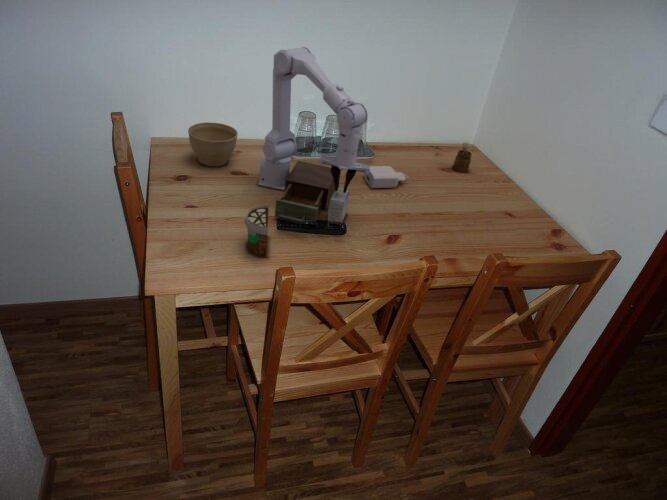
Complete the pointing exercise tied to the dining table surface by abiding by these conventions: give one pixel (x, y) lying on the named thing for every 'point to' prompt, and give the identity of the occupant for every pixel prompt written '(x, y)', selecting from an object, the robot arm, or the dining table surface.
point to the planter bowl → (212, 142)
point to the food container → (257, 229)
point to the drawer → (299, 203)
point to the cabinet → (313, 179)
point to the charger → (383, 177)
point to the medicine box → (338, 205)
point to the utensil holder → (462, 159)
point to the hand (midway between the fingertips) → (340, 190)
